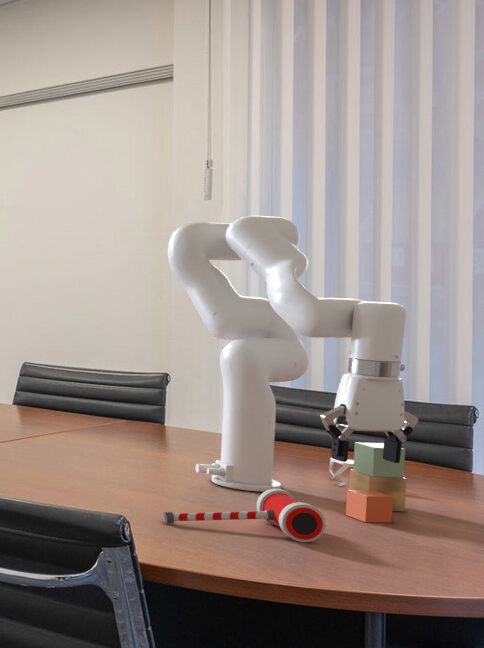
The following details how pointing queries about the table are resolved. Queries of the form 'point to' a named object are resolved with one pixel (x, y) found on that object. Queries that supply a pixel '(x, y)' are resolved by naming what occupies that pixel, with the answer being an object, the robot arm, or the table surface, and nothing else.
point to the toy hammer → (271, 515)
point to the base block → (381, 487)
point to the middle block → (376, 461)
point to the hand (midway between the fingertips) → (365, 460)
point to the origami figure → (344, 466)
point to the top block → (369, 506)
